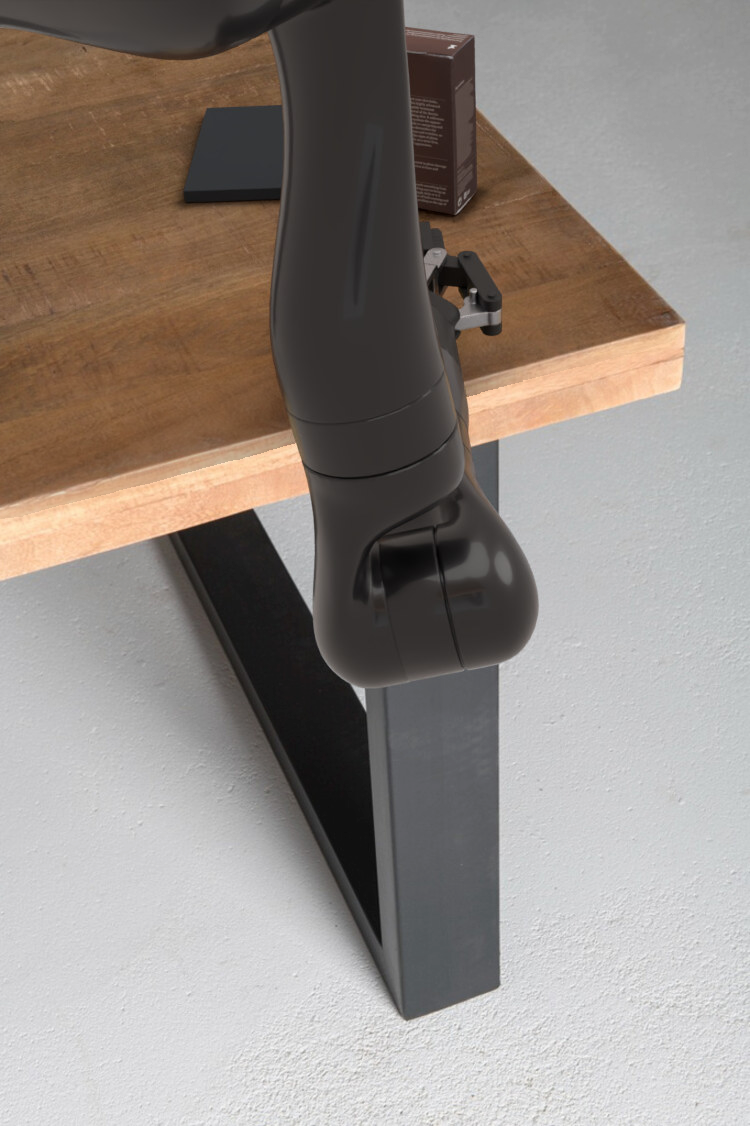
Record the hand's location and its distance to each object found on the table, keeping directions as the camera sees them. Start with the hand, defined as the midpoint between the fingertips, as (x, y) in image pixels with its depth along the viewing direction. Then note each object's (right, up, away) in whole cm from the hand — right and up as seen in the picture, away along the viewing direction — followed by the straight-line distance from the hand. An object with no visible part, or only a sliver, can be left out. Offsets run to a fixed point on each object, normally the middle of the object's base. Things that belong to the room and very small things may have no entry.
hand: (377, 238), depth 91 cm
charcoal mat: (-7, +12, +22) cm, 26 cm away
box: (+4, +7, +16) cm, 17 cm away
